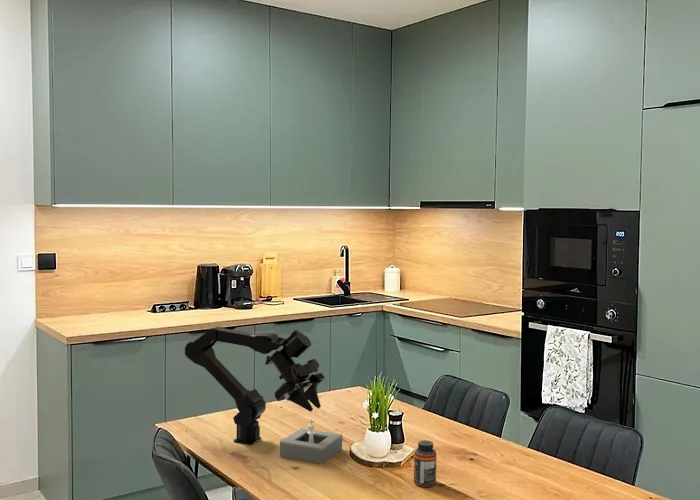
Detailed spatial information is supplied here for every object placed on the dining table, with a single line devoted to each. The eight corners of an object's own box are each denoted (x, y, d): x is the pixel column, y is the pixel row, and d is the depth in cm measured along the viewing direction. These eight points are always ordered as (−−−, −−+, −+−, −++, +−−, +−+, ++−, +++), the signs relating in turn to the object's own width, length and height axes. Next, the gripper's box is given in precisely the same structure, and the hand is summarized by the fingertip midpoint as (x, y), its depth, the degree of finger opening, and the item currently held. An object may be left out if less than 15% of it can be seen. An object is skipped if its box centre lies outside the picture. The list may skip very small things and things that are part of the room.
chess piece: (319, 453, 207) (320, 423, 205) (303, 454, 207) (303, 423, 204) (318, 445, 212) (319, 415, 210) (302, 445, 211) (302, 415, 209)
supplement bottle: (411, 479, 190) (412, 438, 189) (433, 479, 190) (434, 438, 190) (415, 488, 184) (416, 446, 183) (437, 487, 184) (438, 445, 184)
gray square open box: (279, 456, 206) (279, 441, 205) (301, 442, 219) (301, 428, 218) (322, 464, 200) (322, 448, 200) (342, 449, 213) (342, 434, 213)
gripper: (282, 356, 202) (312, 400, 197) (320, 346, 218) (349, 387, 212) (261, 379, 207) (290, 422, 201) (299, 368, 222) (327, 408, 217)
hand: (315, 409), depth 208 cm, fingers open, 4 cm apart
